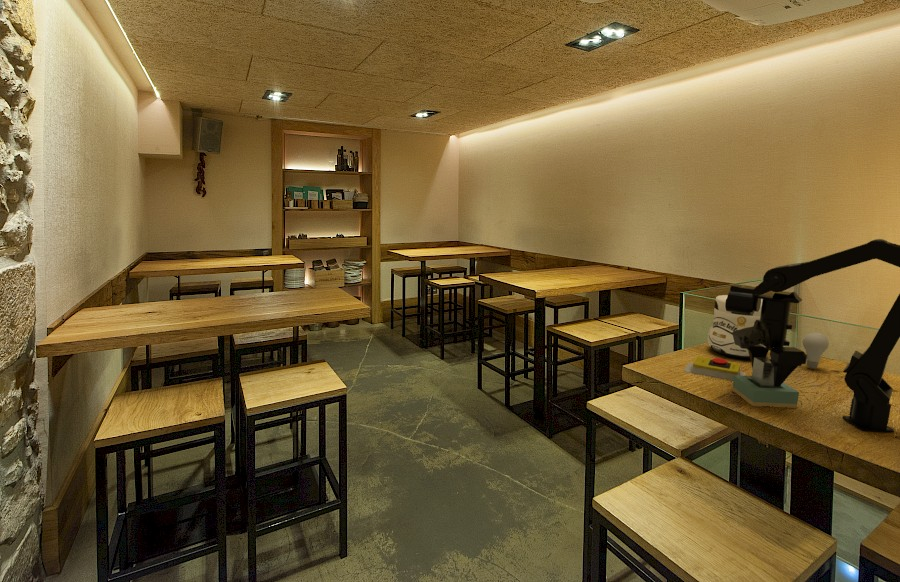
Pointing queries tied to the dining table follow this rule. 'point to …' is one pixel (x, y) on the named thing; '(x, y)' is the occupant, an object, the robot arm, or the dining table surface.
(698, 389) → the dining table surface
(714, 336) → the milk container
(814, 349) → the lightbulb
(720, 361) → the emergency button
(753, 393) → the socket block
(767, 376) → the grey rectangular block
